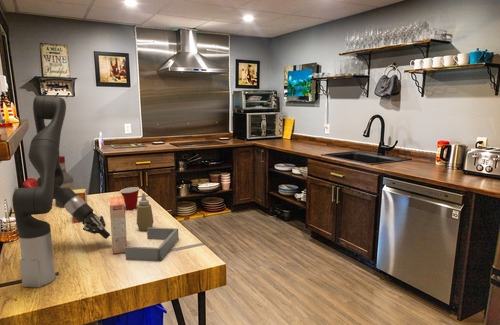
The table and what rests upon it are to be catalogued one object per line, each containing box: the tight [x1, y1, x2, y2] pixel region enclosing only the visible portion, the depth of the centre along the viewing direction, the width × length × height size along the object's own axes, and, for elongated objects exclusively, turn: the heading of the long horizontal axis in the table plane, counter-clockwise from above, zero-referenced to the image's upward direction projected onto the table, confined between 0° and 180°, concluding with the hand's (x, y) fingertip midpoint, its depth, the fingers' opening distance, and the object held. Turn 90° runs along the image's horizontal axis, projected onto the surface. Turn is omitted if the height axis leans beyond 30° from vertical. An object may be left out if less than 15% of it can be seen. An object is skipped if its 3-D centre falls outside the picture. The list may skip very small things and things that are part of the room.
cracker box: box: [109, 195, 128, 255], centre depth 145 cm, size 14×6×21 cm, turn 21°
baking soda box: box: [72, 188, 88, 224], centre depth 181 cm, size 10×6×16 cm
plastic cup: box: [119, 186, 140, 211], centre depth 200 cm, size 11×11×12 cm
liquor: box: [54, 155, 75, 209], centre depth 206 cm, size 9×9×30 cm
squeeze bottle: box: [136, 192, 155, 232], centre depth 167 cm, size 8×8×18 cm
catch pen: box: [124, 227, 179, 262], centre depth 145 cm, size 22×14×5 cm, turn 174°
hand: (108, 237), depth 147 cm, fingers closed
